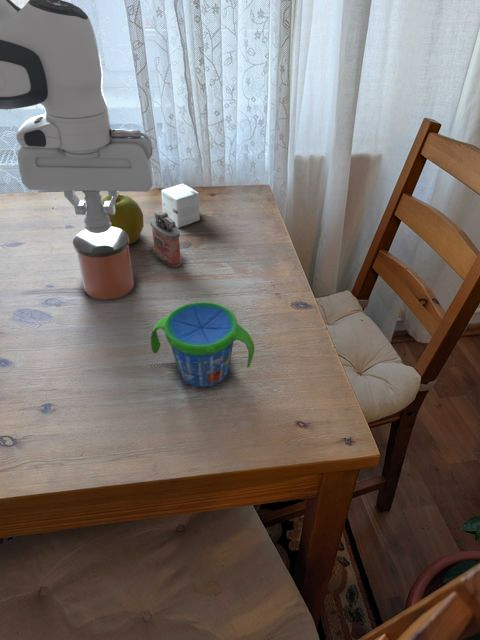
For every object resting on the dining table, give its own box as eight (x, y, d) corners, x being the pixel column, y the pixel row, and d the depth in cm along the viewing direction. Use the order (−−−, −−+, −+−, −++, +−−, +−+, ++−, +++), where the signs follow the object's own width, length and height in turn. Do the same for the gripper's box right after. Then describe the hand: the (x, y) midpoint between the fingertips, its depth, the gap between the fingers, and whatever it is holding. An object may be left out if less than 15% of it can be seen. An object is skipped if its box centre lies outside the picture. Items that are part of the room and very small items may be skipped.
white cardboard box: (163, 220, 118) (160, 189, 113) (185, 212, 121) (183, 182, 116) (178, 231, 115) (176, 199, 110) (200, 223, 118) (199, 192, 113)
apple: (89, 239, 111) (80, 190, 103) (130, 225, 116) (123, 178, 108) (113, 259, 105) (105, 209, 98) (155, 244, 110) (149, 195, 103)
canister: (79, 303, 94) (67, 253, 87) (88, 274, 101) (78, 225, 94) (132, 303, 95) (124, 253, 88) (138, 274, 102) (131, 226, 95)
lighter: (150, 253, 107) (145, 208, 101) (164, 248, 109) (160, 204, 102) (171, 271, 103) (167, 225, 96) (185, 266, 105) (183, 220, 98)
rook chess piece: (117, 225, 90) (110, 181, 85) (101, 236, 87) (92, 191, 82) (96, 219, 92) (88, 175, 86) (79, 230, 88) (69, 185, 83)
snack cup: (142, 384, 80) (134, 333, 73) (171, 341, 87) (166, 291, 80) (239, 409, 77) (240, 358, 70) (260, 362, 84) (263, 313, 78)
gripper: (152, 123, 81) (160, 205, 91) (17, 120, 80) (39, 204, 89) (148, 138, 77) (156, 223, 86) (4, 134, 75) (29, 221, 84)
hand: (95, 213), depth 88 cm, fingers closed on rook chess piece, 3 cm apart
